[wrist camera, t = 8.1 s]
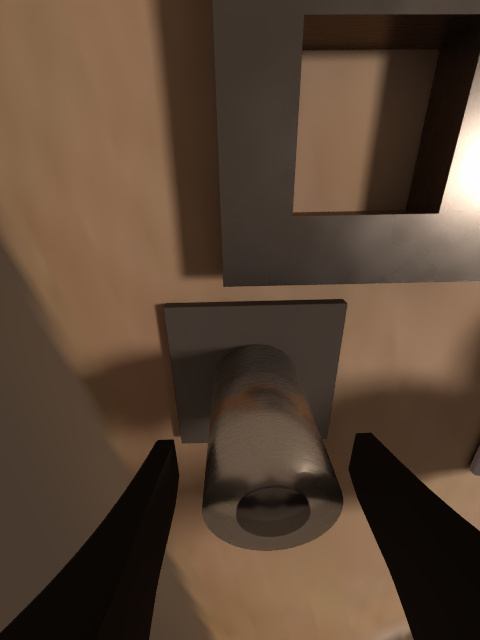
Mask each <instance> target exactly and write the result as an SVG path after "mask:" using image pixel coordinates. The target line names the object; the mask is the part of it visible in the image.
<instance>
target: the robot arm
mask: <svg viewBox="0 0 480 640" xmlns="http://www.w3.org/2000/svg"><path fill="white" fill-rule="evenodd" d="M470 470H471V472H472V473H473V474H474V475H478V476H480V445H479V448H478V450H477V452H476V454H475V456H474V458H473V461H472V463H471V465H470ZM349 473H350V476H351V479H352V483H353V486H354V489H355V492H356V495H357V498H358V500H359V502H360V505H361V507H362V509H363V512H364V514H365V516H366V519H367V521H368V523H369V525H370V528H371V530H372V532H373V535H374V537H375V539H376V541H377V544H378V546H379V548H380V550H381V553H382V555H383V557H384V559H385V562H386V564H387V566H388V569H389V571H390V574H391V576H392V579H393V581H394V584H395V587H396V590H397V592H398V595H399V598H400V601H401V604H402V607H403V609H404V612H405V615H406V618H407V621H408V624H409V627H410V630H411V633H412V636H413V639H414V640H480V531H479V530H478V529H477V528H475V527H474V526H473V525H471V524H470V523H469V522H468V521H466V520H465V519H464V518H463V517H461V516H460V515H459V514H458V513H457V512H455V511H454V510H453V509H452V508H451V507H450V506H448V505H447V504H446V503H445V502H444V501H443V500H441V499H440V498H439V497H438V496H437V495H436V494H434V493H433V492H432V491H431V490H430V489H429V488H428V487H427V486H426V485H425V484H424V483H422V482H421V481H420V480H419V479H418V478H417V477H416V476H415V475H414V474H413V473H412V472H411V471H410V470H409V469H408V468H406V467H405V466H404V465H403V464H402V463H401V462H400V461H399V460H398V459H397V458H396V457H395V456H394V455H393V454H392V453H391V452H390V451H389V450H388V449H387V448H386V447H385V446H384V445H383V444H382V443H381V442H380V441H379V440H378V439H377V438H376V437H375V436H374V435H373V434H372V433H356V436H355V440H354V445H353V450H352V455H351V460H350V465H349ZM178 482H179V471H178V464H177V457H176V451H175V444H174V440H158V441H157V442H156V443H155V445H154V446H153V448H152V450H151V451H150V453H149V455H148V456H147V458H146V460H145V461H144V463H143V465H142V466H141V468H140V469H139V471H138V472H137V474H136V475H135V477H134V478H133V480H132V481H131V483H130V484H129V486H128V487H127V489H126V490H125V492H124V493H123V495H122V496H121V497H120V499H119V500H118V502H117V503H116V504H115V505H114V507H113V508H112V509H111V511H110V512H109V513H108V515H107V516H106V518H105V519H104V520H103V521H102V523H101V524H100V525H99V527H98V528H97V529H96V530H95V532H94V533H93V534H92V535H91V536H90V538H89V539H88V540H87V541H86V543H85V544H84V545H83V546H82V547H81V548H80V550H79V551H78V552H77V553H76V554H75V555H74V557H73V558H72V559H71V560H70V561H69V562H68V563H67V564H66V565H65V567H64V568H63V569H62V570H61V571H60V572H59V573H58V574H57V576H56V577H55V578H54V579H53V580H52V581H51V582H50V583H49V584H48V585H47V586H46V587H45V588H44V590H42V592H41V593H40V594H39V595H38V596H37V597H36V598H35V599H34V600H33V601H32V602H31V603H30V604H29V605H28V606H27V607H26V608H25V609H24V610H23V611H22V612H21V613H20V614H19V615H18V616H17V617H16V618H15V619H14V620H13V621H12V622H11V623H10V624H9V625H8V626H7V627H6V628H5V629H4V630H3V631H2V632H1V633H0V640H149V635H150V628H151V622H152V616H153V609H154V603H155V596H156V590H157V585H158V579H159V575H160V570H161V566H162V562H163V557H164V553H165V549H166V544H167V540H168V536H169V531H170V527H171V523H172V518H173V514H174V509H175V505H176V497H177V490H178Z"/></svg>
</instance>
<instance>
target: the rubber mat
mask: <svg viewBox="0 0 480 640" xmlns="http://www.w3.org/2000/svg"><path fill="white" fill-rule="evenodd" d="M346 309H347V303H346V302H345V301H344V300H343V299H334V300H292V301H249V302H207V303H166V305H165V306H164V314H165V322H166V329H167V336H168V344H169V351H170V359H171V366H172V373H173V381H174V388H175V396H176V403H177V410H178V418H179V425H180V433H181V440H182V443H208V439H209V428H210V417H211V406H212V396H213V385H214V375H215V371H216V368H217V366H218V364H219V363H220V361H221V360H222V359H223V358H224V357H225V356H226V355H227V354H228V353H230V352H231V351H233V350H235V349H237V348H239V347H242V346H245V345H251V344H264V345H269V346H273V347H275V348H277V349H280V350H281V351H283V352H284V353H285V354H287V355H288V356H289V357H290V359H291V360H292V361H293V363H294V365H295V367H296V370H297V373H298V376H299V378H300V381H301V384H302V386H303V389H304V392H305V394H306V397H307V400H308V402H309V405H310V408H311V411H312V413H313V416H314V419H315V421H316V424H317V427H318V429H319V432H320V435H321V437H322V439H327V434H328V427H329V421H330V414H331V408H332V401H333V394H334V388H335V381H336V375H337V368H338V362H339V355H340V348H341V342H342V335H343V329H344V322H345V316H346Z"/></svg>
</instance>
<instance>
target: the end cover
mask: <svg viewBox="0 0 480 640" xmlns="http://www.w3.org/2000/svg"><path fill="white" fill-rule="evenodd" d="M342 507H343V495H342V491H341V489H340V486H339V483H338V480H337V478H336V475H335V472H334V470H333V467H332V464H331V462H330V459H329V456H328V454H327V451H326V448H325V445H324V443H323V440H322V437H321V435H320V432H319V429H318V427H317V424H316V421H315V419H314V416H313V413H312V411H311V408H310V405H309V402H308V400H307V397H306V394H305V392H304V389H303V386H302V384H301V381H300V378H299V376H298V373H297V370H296V367H295V365H294V363H293V361H292V360H291V359H290V357H289V356H288V355H287V354H285V353H284V352H283V351H281V350H280V349H277V348H275V347H273V346H269V345H264V344H251V345H245V346H242V347H239V348H237V349H235V350H233V351H231V352H230V353H228V354H227V355H226V356H225V357H224V358H223V359H222V360H221V361H220V363H219V364H218V366H217V368H216V371H215V375H214V385H213V396H212V406H211V417H210V428H209V439H208V450H207V461H206V471H205V482H204V493H203V504H202V514H203V518H204V521H205V523H206V525H207V527H208V528H209V529H210V530H211V531H212V533H214V534H215V535H216V536H217V537H218V538H220V539H222V540H223V541H225V542H227V543H229V544H232V545H234V546H237V547H241V548H245V549H250V550H260V551H272V550H282V549H288V548H292V547H296V546H299V545H302V544H305V543H308V542H310V541H312V540H314V539H316V538H317V537H319V536H321V535H322V534H324V533H325V532H326V531H327V530H329V529H330V528H331V527H332V526H333V525H334V523H335V522H336V521H337V519H338V518H339V516H340V514H341V511H342Z"/></svg>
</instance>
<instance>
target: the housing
mask: <svg viewBox="0 0 480 640" xmlns="http://www.w3.org/2000/svg"><path fill="white" fill-rule="evenodd" d="M212 12H213V37H214V62H215V87H216V112H217V137H218V163H219V188H220V213H221V238H222V263H223V287H233V286H278V285H322V284H367V283H412V282H456V281H480V0H212ZM302 49H440V53H439V58H438V62H437V67H436V72H435V76H434V81H433V86H432V90H431V95H430V100H429V105H428V109H427V114H426V119H425V123H424V128H423V133H422V138H421V142H420V147H419V152H418V156H417V161H416V166H415V170H414V175H413V180H412V185H411V189H410V194H409V199H408V203H407V208H406V211H355V212H296V213H293V197H294V180H295V163H296V146H297V129H298V112H299V95H300V78H301V61H302Z"/></svg>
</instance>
